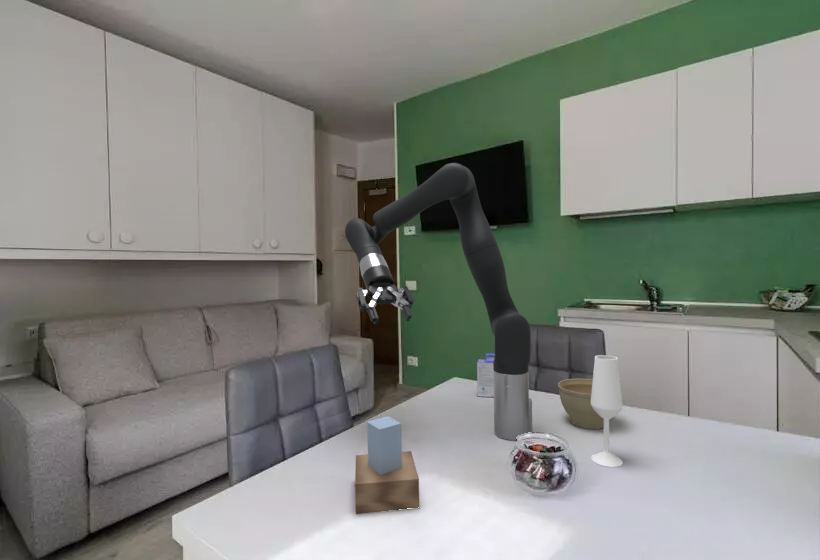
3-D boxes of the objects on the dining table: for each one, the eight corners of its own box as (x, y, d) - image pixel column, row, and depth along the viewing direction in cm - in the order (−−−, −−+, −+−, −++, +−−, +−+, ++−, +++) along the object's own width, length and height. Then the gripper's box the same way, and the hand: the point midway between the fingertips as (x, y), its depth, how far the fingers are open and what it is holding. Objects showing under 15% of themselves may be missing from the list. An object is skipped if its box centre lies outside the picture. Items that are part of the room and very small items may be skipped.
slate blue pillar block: (389, 458, 87) (388, 416, 87) (402, 467, 83) (401, 423, 83) (368, 465, 84) (367, 421, 84) (380, 475, 80) (379, 429, 80)
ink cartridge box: (506, 393, 147) (505, 352, 147) (506, 398, 142) (505, 356, 142) (477, 392, 149) (477, 352, 149) (477, 396, 144) (476, 355, 144)
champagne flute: (626, 459, 96) (626, 356, 96) (617, 469, 92) (617, 362, 91) (596, 450, 101) (596, 353, 100) (586, 460, 96) (585, 358, 95)
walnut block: (411, 478, 91) (411, 451, 91) (419, 509, 79) (418, 479, 79) (356, 482, 89) (355, 455, 89) (355, 515, 77) (355, 484, 77)
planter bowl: (622, 419, 121) (622, 382, 121) (616, 439, 107) (616, 397, 107) (565, 409, 130) (564, 375, 129) (552, 427, 116) (552, 388, 116)
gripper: (353, 264, 107) (368, 313, 97) (403, 263, 113) (423, 309, 103) (348, 284, 112) (362, 332, 102) (396, 282, 118) (414, 327, 108)
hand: (392, 320), depth 102 cm, fingers open, 8 cm apart
